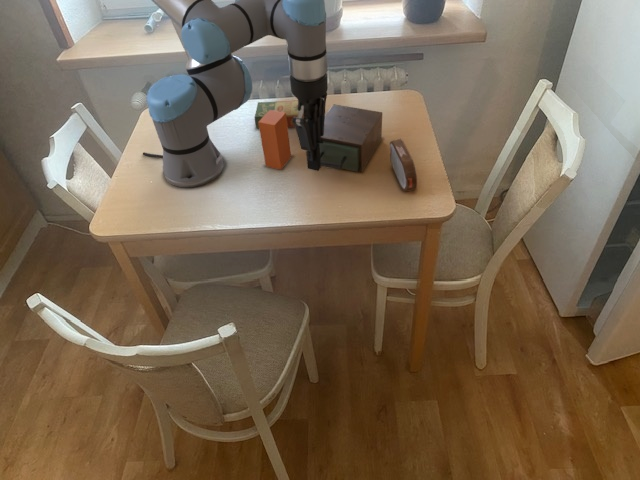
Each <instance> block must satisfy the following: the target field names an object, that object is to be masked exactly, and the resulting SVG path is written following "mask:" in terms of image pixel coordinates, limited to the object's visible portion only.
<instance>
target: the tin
mask: <svg viewBox="0 0 640 480" xmlns="http://www.w3.org/2000/svg"><path fill="white" fill-rule="evenodd" d="M389 160H390V163H391V167H392V170H393V172H394V175H395V178H396V179H397V181H398V183H399V186H400V188H401V189H402V191H403V192H411V191H416V190H417V187H418V175H417V169H416V165H415V162H414V159H413V157H412V156H411V154H410V151H409V149H408V148H407V145H406V144H405V142H404V140H403V138H398V139H392V140H391V141H390V142H389Z"/></svg>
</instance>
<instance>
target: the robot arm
mask: <svg viewBox="0 0 640 480" xmlns="http://www.w3.org/2000/svg"><path fill="white" fill-rule="evenodd" d="M151 2H152V3H154V4H155V5H156V6H157V7H158V8H159V9H160V10H161V11H162V12H163V13H164V14H165V15H166V16H167V17H168V18H169V20H170V22H171V24H172V26H173V29H174V30H175V32H176V35H177V38H178V40H179V42H180V44H181V46H182V48H183V50H184V53H185V56H186V57H187V62H186V65H185V70H186V72H187V74H188V75H187V74H184V73H176V74H173V75H172V76H171V75H167V76H164V77H162V78H160V79H159V80H157V81H156V82H154V83H153V84H152V85H151V87H150V88H149V89H148V90H147V94H146V97H145V98H146V104H147V108H148V114H149V117H150V118H151V120H152V123H153V126H154V128H155V131H156V134H157V136H158V139H159V142H160V145H161V147H162V154H154V153H148V152H145V151H143V152H142V155H143V156H145V157H148V158H158V159H162V173H163V176H164V178H165V180H166V182H168V184H170V185H172V186H174V187H179V188H194V187H195V188H196V187H200V186H203V185H206V184H208V183H211V182H212V181H214V180H215V179H217V178H218V177H219V175H221V173H222V171H223V170H224V159H223V156H222V155H221V152H220V151H219V149H218V148H217V146H216V145H215V143H214V142H212V139H211V138H210V135H209V131H208V126H209V125H211V124H213V123H214V122H216V121H218V120H219V119H221V118H223V117H224V116H227V115H229V114H230V113H232V112H234V111H236V110H238V109H239V108H241V107H242V106H243V105H244V104H246V103H247V102H249V100H250V98H251V95H252V93H253V79H252V75H251V72H250V70H249V68H248V66H247V65H246V63H244V62H243V60H242V59H241V58H240V57H238V56H235V55H233V53H235V52H237V51H238V50H241V49H242V48H245V47H248V46H249V45H251V44H253V43H255V42H257V41H259V40H261V39H263V38H265V37H267V36H272V37H274V38H277V39H280V40H285V41H286V49H287V50H286V51H287V55H286V58H287V60H288V68H289V74H290V75H289V83H290V92H291V94H292V96H294V97H295V98H296V99H297V100H298V111H299V114H298V117H297V118H296V117H294V118H293V124H294V125H295V127H294V128H295V130H296V135H297V138H298V144H299V147H300V150H302V151H305V152H306V153H305V154H306V166H307V169H308V170H311V171H316V172H319V170H320V169H321V168H322V166H321V165H320V144H319V143H321V144H323V142H324V140H323V139H321V136H323V135H324V120H325V115H326V103H327V97H328V89H329V87H328V53H327V39H326V38H327V11H326V2H325V0H235V1H234V2H232V3H229V4H227V5H225V6H222V7H220V6H219V5H217V3H215V2H214V1H213V0H151Z"/></svg>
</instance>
